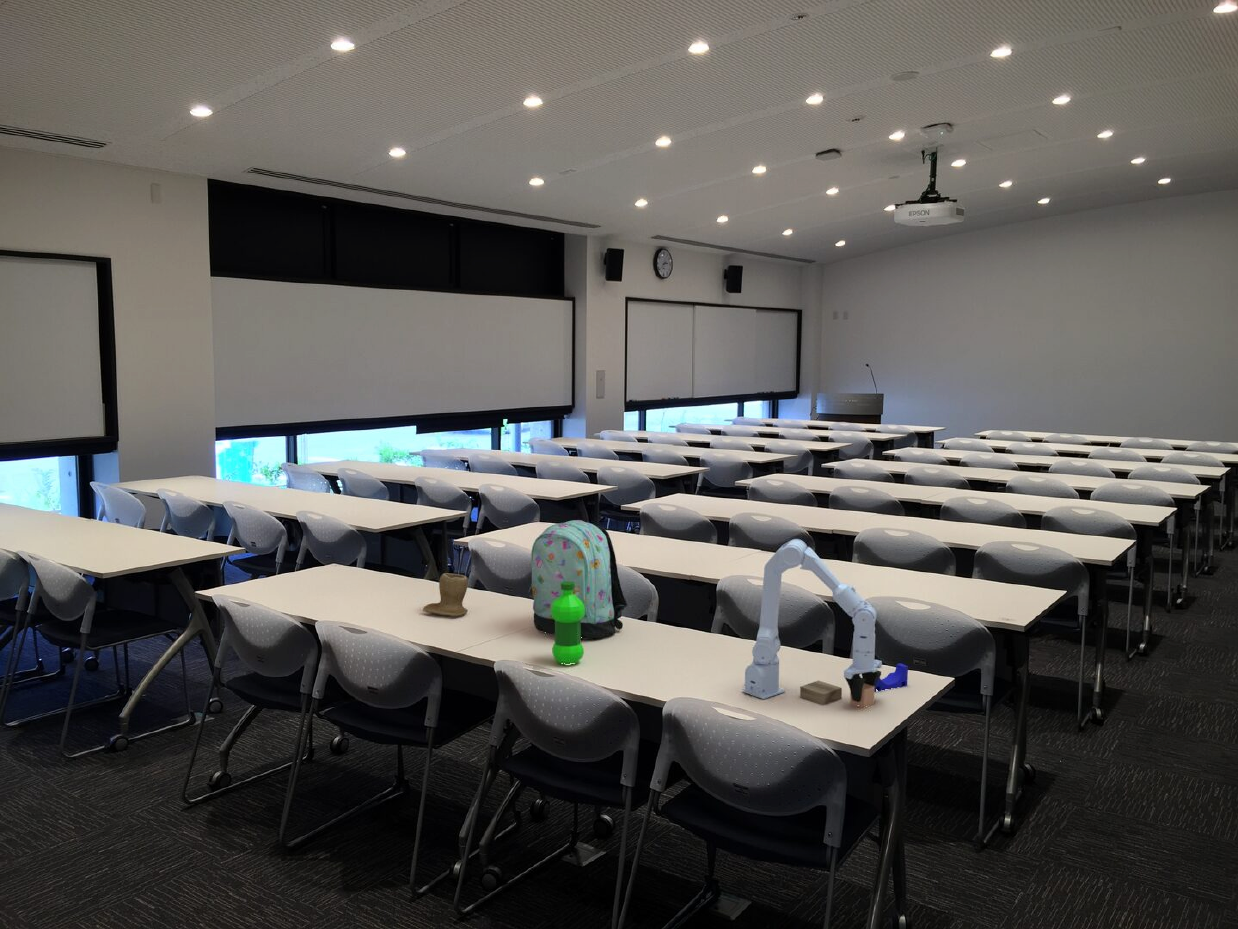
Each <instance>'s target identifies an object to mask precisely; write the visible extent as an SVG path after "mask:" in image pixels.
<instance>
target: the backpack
mask: <svg viewBox="0 0 1238 929" xmlns="http://www.w3.org/2000/svg"><path fill="white" fill-rule="evenodd" d="M530 555H531V556H530V557H531V585H530V587H529V591H528V592H527V593H528V594H529V593H530V594H529V598H533V603H532V610H533V625H534V628H535V629H536V630H537V631H539V630H540V631H539V632H541V633H544V632H546V633H549V634H548V635H550V634H553V635H555V620H554V618H553V617H552V614H551V605H552V603H553V602H554V601H555V600H556V599H557V598H558V597H559V596H561V595H562V594H563V590H561V583H562V582H574V583H575V589H574V590H573V594H574V595H575V596H576V597H577V598H579V599H580V600H581V601H582V603H583V604H584V607H585V614H584V617H583V618H582V619H581V637H582V638H581V639H583V638H588V640H590V639H591V640H594V639H593V638H599V639H602V637H603V638H605V637H606V636H608V635H607V634H609V635H614V634H615V633H616V632H617V630H622V629H623V624H624V623H623V621H621V620H620V618H621V617H622V611H623V610H625V608H627V607H628V603H627V601H626V598H625V596H624V592H623V589H622V587H621V581H620V577H619V573H618V565H617V558H616V553H615V550H614V545H613V542H612V539H611V536H610V535H609V533H608V531H607V529H605V528H604V527H602V526H598V525H595V524H593V523H590V522H587V521H586V522H585V521H583V520H582V519H580V520H579V519H577V520H576V519H575V520H569V521H566V522H561V523H560V522H559V523H555V524H552V525H551V526H550V525H549V526H548V527H547V528H545V529H544V530H543V532H542V533H541V534H540V535H539V536H537V537H536V539H535V540H534V542H533V545H532V547H531V554H530ZM616 629H617V630H616ZM546 633H545V634H546ZM613 633H614V634H613Z"/></svg>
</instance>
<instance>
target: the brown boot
mask: <svg viewBox="0 0 1238 929" xmlns="http://www.w3.org/2000/svg"><path fill="white" fill-rule="evenodd" d="M468 584H469V581H468V577H467V576H466V575H462V574H457V573H449V572H446V573H445V572H444V573H442V574H441V575H440V578H439V581H438V585H439V586H438V588H439V595H440V601H439V602H432V603H428V604H426V605H425V606H424V607H423V608H422V612H425V613H430V614H434V613H436V614H435V615H439V614H442V615H441V616H446V615H449V616H448V617H460V616H459V615H461V616H463V615H462V614H464V615H466V614H467V613H468V611H469V610H468V609H467V608H465V607H464V606H463V605H464V604H463V601H464V599H465V596H466V594H467V590H468ZM465 613H466V614H465Z"/></svg>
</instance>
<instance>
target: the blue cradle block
mask: <svg viewBox="0 0 1238 929" xmlns="http://www.w3.org/2000/svg"><path fill="white" fill-rule="evenodd" d="M908 673H909V666H908V665H905V664H903V663H897V664H896V667H895V670H894V671H893V672H889V673H888V675H887V676H886V677H884V678H881V676H880V677H879V679H878V681H877V683H876V685H875V689H874V693H877V692H876V689H877V690H878V692H882V691H881V690H884V691H886V690H885V689H889V690H892V689H891V688H895V689H898V688H897V687H900V688H903V687H908V675H909V674H908Z"/></svg>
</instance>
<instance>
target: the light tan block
mask: <svg viewBox="0 0 1238 929" xmlns="http://www.w3.org/2000/svg"><path fill="white" fill-rule="evenodd" d="M874 689H875V686H871V685H868V684H865V683H864V685H863V688H862V694H861V700H860V702H857V701H853V700H852V696H851V692H849V693H850V701H849V703H850V704H851V705H853V706H857V705H859V706H858V707H860V706H862V707H861V708H863V707H865V708H867V707H866V706H868V705H870V706H873V705H874V704H875V692H874ZM872 704H873V705H872ZM868 707H869V706H868Z"/></svg>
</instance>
